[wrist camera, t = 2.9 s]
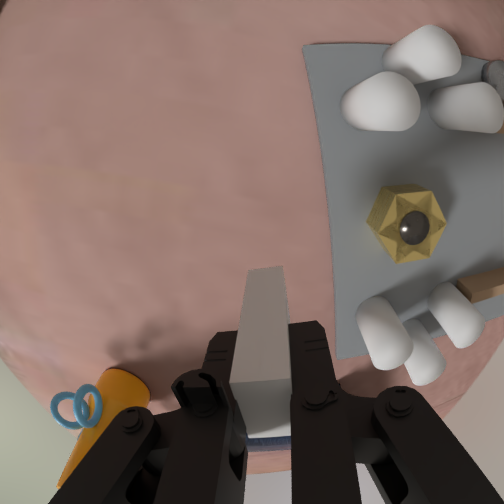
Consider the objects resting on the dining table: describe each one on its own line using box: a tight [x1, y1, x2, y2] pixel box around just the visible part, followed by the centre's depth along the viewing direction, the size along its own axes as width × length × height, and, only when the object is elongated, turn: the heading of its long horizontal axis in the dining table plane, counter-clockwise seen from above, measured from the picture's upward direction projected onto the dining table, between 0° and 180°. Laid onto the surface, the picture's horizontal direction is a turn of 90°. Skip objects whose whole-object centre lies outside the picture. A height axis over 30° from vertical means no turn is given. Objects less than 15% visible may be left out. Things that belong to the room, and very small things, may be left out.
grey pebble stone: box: [481, 60, 504, 108], centre depth 13 cm, size 4×4×1 cm
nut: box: [366, 184, 447, 264], centre depth 17 cm, size 4×5×2 cm
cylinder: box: [50, 369, 150, 489], centre depth 21 cm, size 12×10×15 cm
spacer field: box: [302, 25, 504, 386], centre depth 16 cm, size 24×20×6 cm
